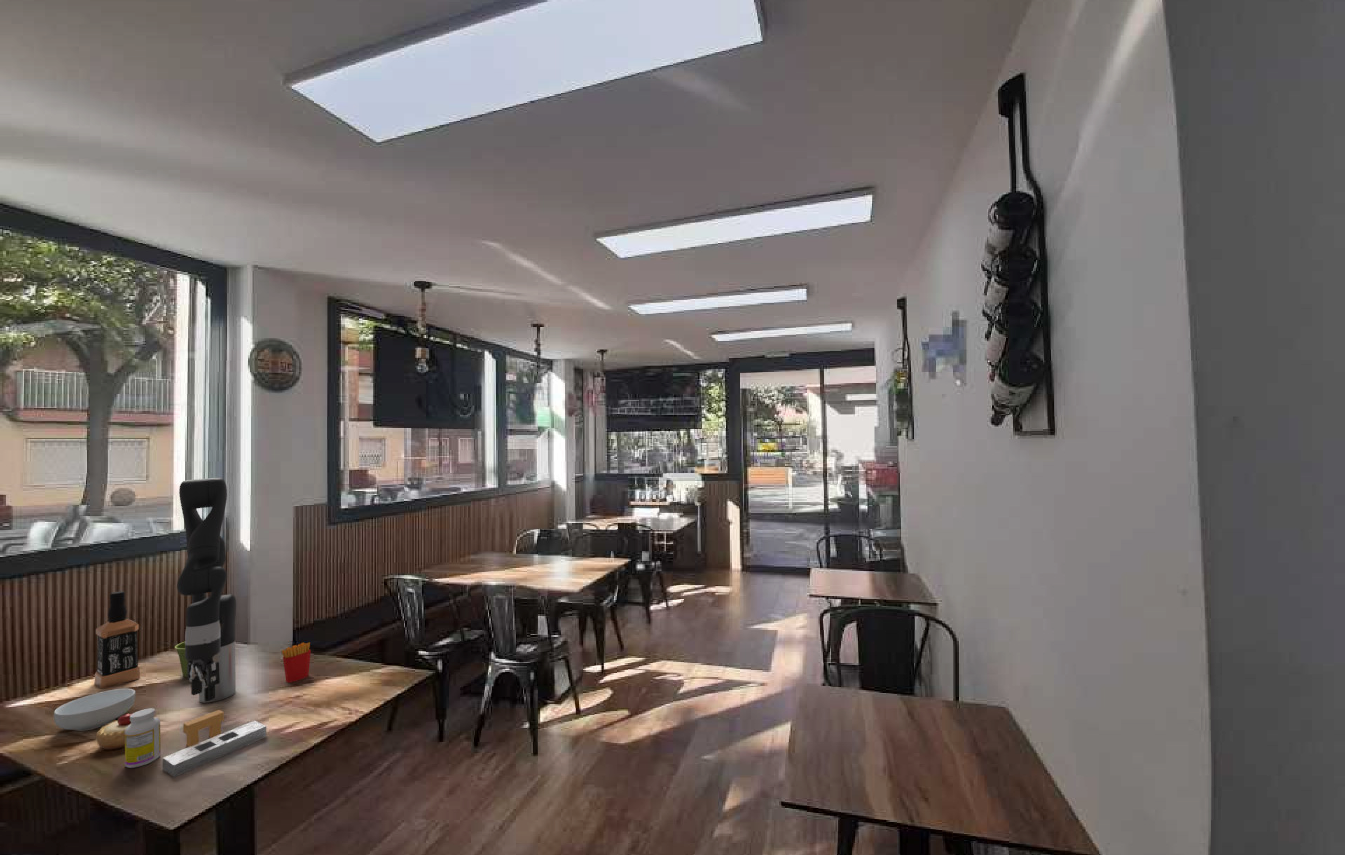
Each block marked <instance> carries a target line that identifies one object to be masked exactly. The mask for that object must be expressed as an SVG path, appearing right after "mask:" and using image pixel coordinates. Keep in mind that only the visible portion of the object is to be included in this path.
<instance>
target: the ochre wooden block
mask: <svg viewBox="0 0 1345 855" xmlns="http://www.w3.org/2000/svg"><path fill="white" fill-rule="evenodd" d="M224 713H225V712H224V711H222V710H221V709H218V710H215V711H212V712H210V713H207V714H204V715H202V716H199V717H196V718H193V719H191V720H188V721H185V722H184V723H182V730H183V732H182V733H185V734H186V747H187V748H188V747H191V746H193V745H195V744H198V743H200V742H199V741H200V740H199V739H200V738H199V734H200V731H201V730H204V729H206V728H209V729H208V733H209V734H208V737H210V738H213V737H215V736H218V735H220V734H222V732H221V731H222V722H224V721H225V718H224V717H225V716H224V715H225V714H224Z"/></svg>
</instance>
